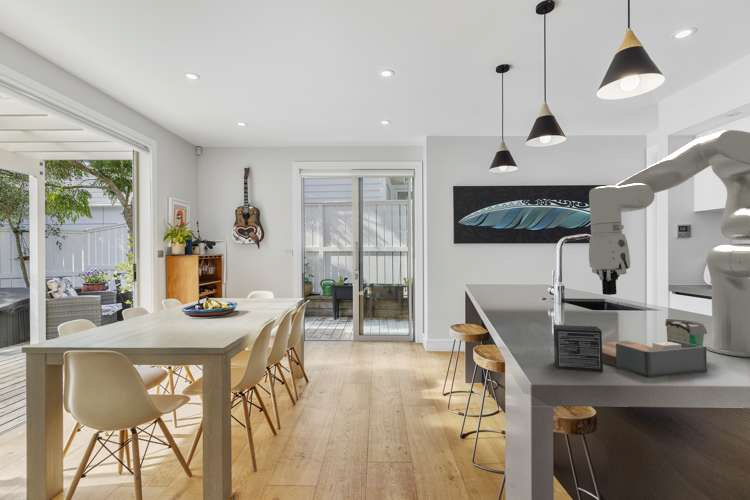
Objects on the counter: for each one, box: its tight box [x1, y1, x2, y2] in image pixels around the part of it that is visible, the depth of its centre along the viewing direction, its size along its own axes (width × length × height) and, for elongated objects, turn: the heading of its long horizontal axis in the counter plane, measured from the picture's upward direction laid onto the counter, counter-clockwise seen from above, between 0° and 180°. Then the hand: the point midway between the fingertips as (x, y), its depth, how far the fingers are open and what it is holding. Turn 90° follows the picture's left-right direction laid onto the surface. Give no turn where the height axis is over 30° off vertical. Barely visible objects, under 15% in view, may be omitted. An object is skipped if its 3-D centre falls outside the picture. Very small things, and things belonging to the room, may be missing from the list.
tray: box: [615, 339, 708, 379], centre depth 95 cm, size 18×9×6 cm, turn 103°
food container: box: [664, 318, 708, 346], centre depth 103 cm, size 12×6×10 cm, turn 168°
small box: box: [553, 324, 604, 373], centre depth 97 cm, size 11×6×10 cm, turn 71°
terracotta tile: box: [626, 343, 650, 351], centre depth 96 cm, size 6×6×3 cm
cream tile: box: [651, 341, 682, 351], centre depth 96 cm, size 6×6×3 cm
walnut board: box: [602, 340, 653, 367], centre depth 106 cm, size 18×13×2 cm
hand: (609, 294), depth 106 cm, fingers closed
